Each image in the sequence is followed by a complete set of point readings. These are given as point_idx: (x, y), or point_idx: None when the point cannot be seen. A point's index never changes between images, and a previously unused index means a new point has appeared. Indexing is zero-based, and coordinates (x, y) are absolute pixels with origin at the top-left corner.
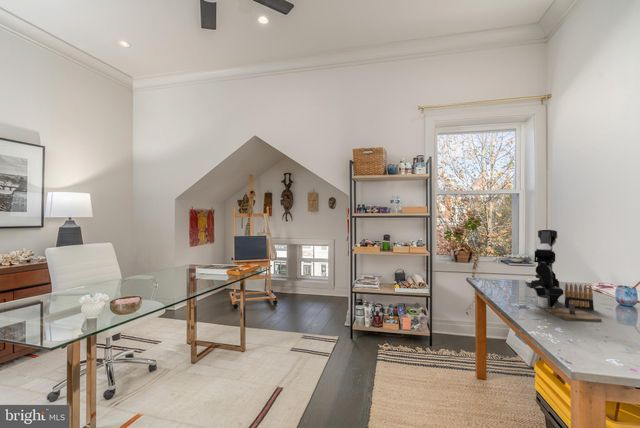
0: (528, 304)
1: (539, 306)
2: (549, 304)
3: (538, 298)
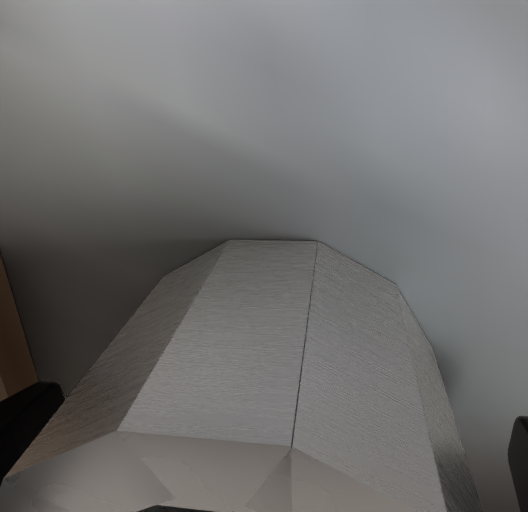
0: (464, 44)
1: (245, 242)
2: (18, 410)
3: (238, 370)
